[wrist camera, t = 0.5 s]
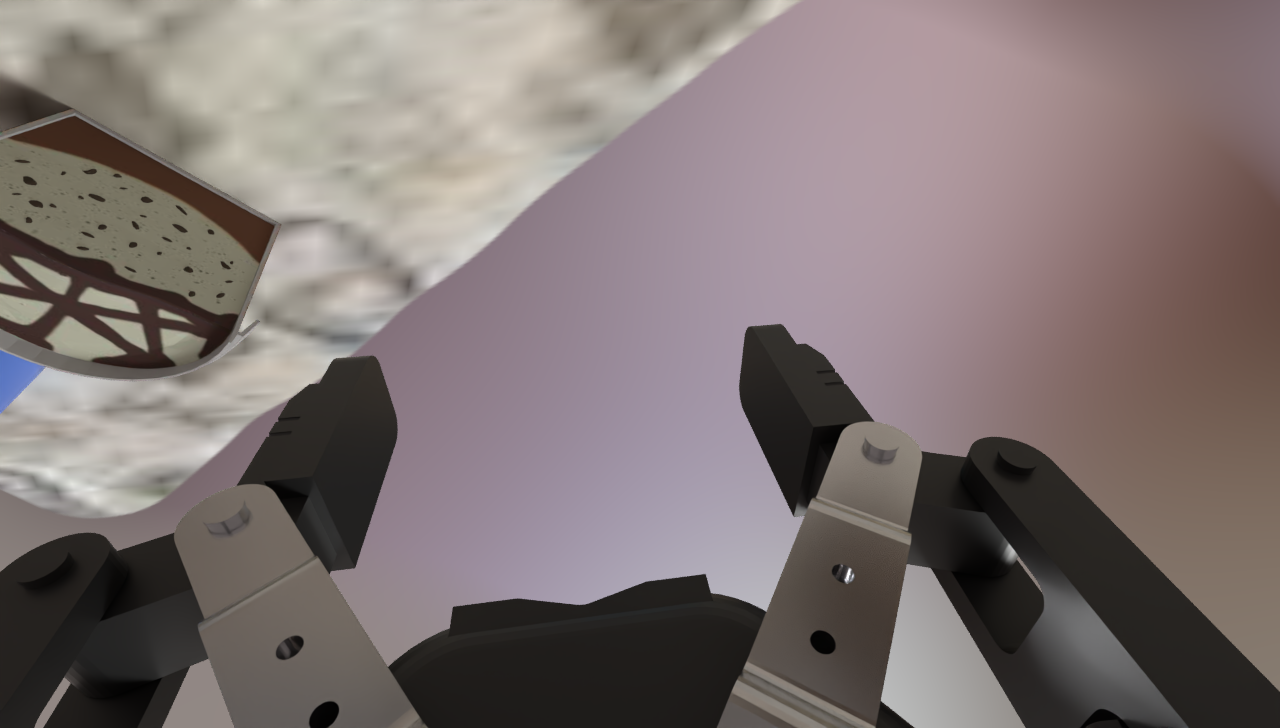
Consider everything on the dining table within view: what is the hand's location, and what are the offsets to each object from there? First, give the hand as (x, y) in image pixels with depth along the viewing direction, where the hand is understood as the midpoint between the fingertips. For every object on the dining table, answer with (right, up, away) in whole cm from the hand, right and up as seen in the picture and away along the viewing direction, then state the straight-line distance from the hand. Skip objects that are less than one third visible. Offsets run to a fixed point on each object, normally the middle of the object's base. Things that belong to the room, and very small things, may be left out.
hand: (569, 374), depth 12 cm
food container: (-24, +8, +18) cm, 31 cm away
